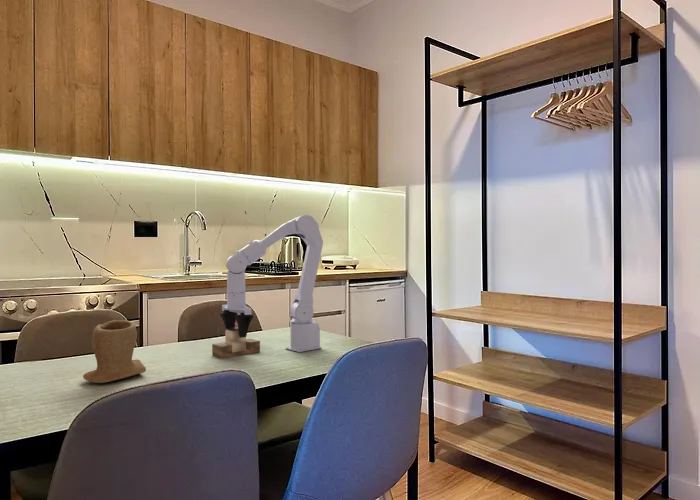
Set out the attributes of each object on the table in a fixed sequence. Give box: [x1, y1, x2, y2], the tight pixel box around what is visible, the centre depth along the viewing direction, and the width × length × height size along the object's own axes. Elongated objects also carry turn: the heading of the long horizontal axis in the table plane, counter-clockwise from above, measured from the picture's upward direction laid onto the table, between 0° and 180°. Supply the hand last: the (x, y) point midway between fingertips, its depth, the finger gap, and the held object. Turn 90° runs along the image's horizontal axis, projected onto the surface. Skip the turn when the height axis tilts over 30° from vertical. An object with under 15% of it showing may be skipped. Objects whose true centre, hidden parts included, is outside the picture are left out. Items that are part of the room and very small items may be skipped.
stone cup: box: [82, 319, 147, 384], centre depth 130 cm, size 15×12×15 cm
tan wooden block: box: [224, 327, 247, 353], centre depth 160 cm, size 5×4×7 cm
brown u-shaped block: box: [211, 338, 261, 359], centre depth 161 cm, size 14×6×4 cm, turn 133°
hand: (236, 335), depth 161 cm, fingers open, 7 cm apart
